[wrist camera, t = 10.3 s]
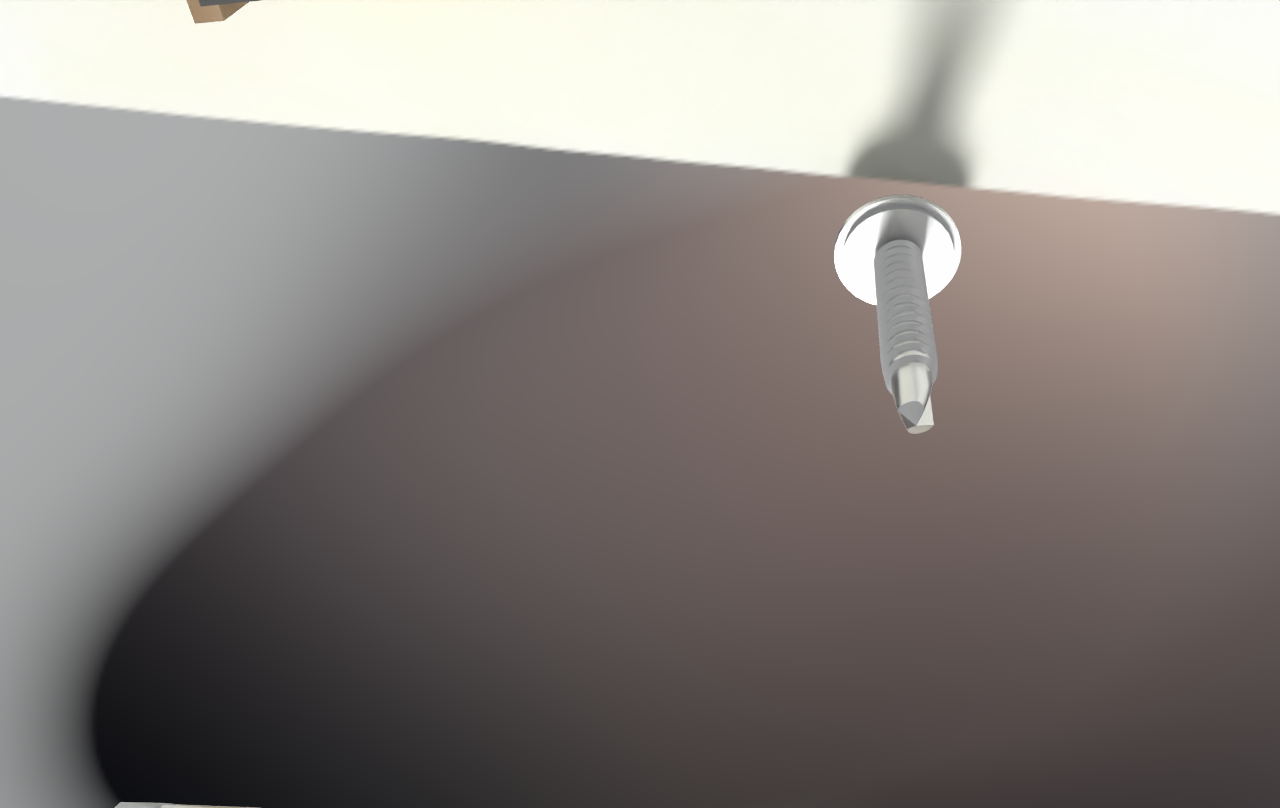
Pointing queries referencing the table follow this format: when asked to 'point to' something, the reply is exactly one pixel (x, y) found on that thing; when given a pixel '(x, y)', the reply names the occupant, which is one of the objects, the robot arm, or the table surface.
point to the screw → (901, 289)
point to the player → (220, 2)
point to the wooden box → (212, 11)
